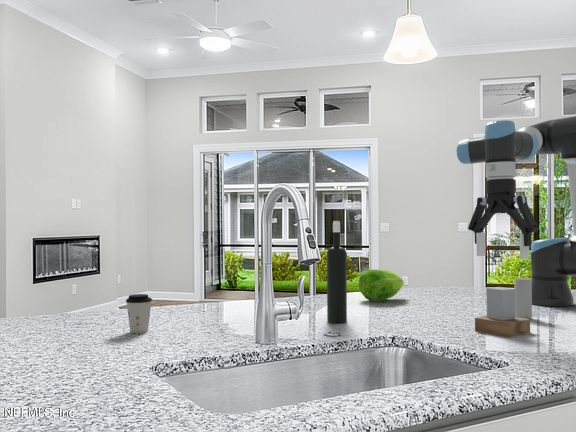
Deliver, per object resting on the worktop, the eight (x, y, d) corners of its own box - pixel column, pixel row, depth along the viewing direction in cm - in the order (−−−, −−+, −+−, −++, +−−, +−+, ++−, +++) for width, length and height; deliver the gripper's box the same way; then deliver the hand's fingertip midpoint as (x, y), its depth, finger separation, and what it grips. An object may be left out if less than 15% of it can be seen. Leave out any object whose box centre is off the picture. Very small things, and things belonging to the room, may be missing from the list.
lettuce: (416, 300, 193) (416, 268, 193) (376, 305, 182) (376, 271, 182) (390, 295, 204) (390, 265, 204) (351, 300, 194) (351, 268, 194)
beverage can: (533, 319, 155) (533, 279, 155) (516, 319, 156) (516, 279, 156) (529, 316, 159) (529, 277, 159) (513, 316, 160) (512, 277, 160)
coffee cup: (157, 330, 142) (157, 294, 142) (142, 335, 136) (142, 297, 136) (136, 328, 145) (135, 293, 145) (120, 333, 138) (120, 296, 138)
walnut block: (496, 327, 145) (495, 313, 145) (530, 334, 137) (530, 319, 137) (474, 332, 139) (474, 317, 139) (509, 339, 131) (509, 323, 131)
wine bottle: (350, 321, 153) (350, 220, 153) (338, 324, 149) (338, 220, 149) (335, 319, 157) (334, 220, 157) (323, 321, 153) (322, 220, 153)
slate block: (499, 316, 142) (499, 286, 142) (515, 318, 137) (514, 288, 138) (486, 317, 139) (486, 288, 140) (502, 320, 135) (502, 290, 135)
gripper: (454, 181, 148) (455, 255, 148) (534, 175, 126) (535, 261, 126) (472, 181, 152) (473, 253, 152) (552, 175, 130) (554, 259, 130)
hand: (501, 257), depth 139 cm, fingers open, 13 cm apart
